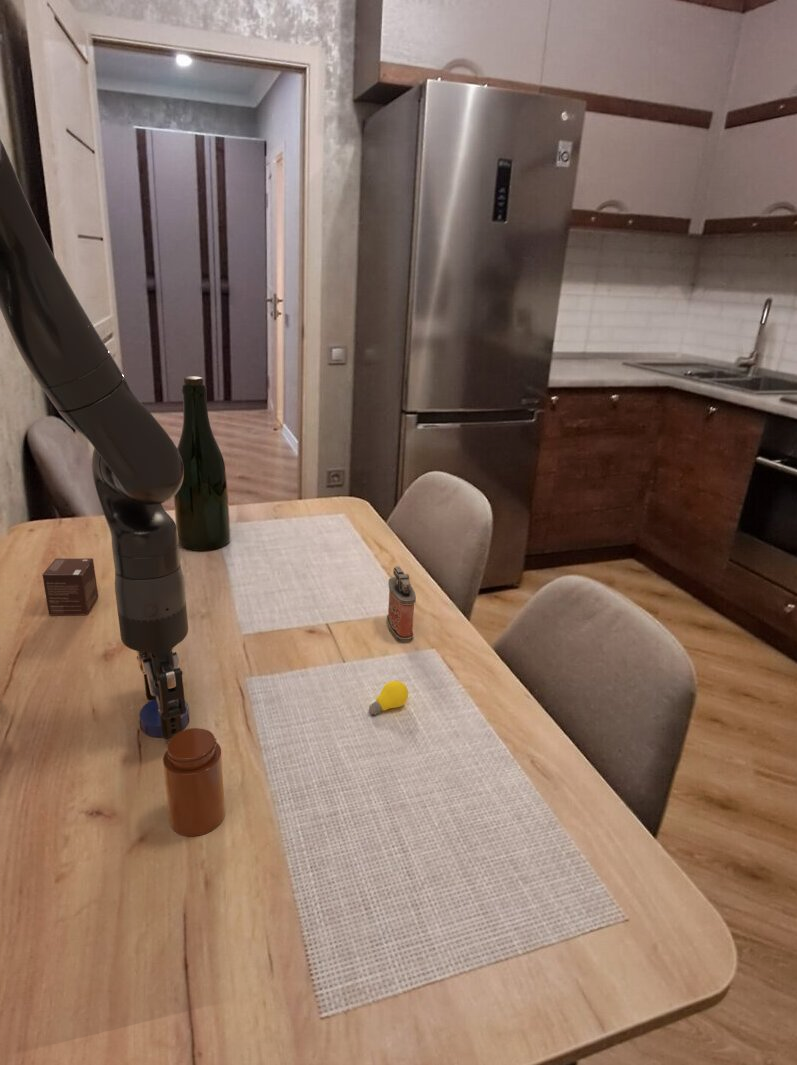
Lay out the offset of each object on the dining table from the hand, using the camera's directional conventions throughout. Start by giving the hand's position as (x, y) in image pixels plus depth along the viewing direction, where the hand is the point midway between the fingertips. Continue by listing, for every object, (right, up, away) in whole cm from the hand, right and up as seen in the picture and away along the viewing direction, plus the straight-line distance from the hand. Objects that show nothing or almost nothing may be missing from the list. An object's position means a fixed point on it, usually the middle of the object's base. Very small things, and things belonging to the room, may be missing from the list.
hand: (163, 715), depth 83 cm
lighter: (+30, +7, +23) cm, 38 cm away
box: (-23, +11, +25) cm, 36 cm away
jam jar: (+8, -7, -13) cm, 17 cm away
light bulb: (+28, 0, +5) cm, 28 cm away
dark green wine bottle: (-10, +21, +52) cm, 57 cm away
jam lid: (0, 0, -1) cm, 1 cm away
